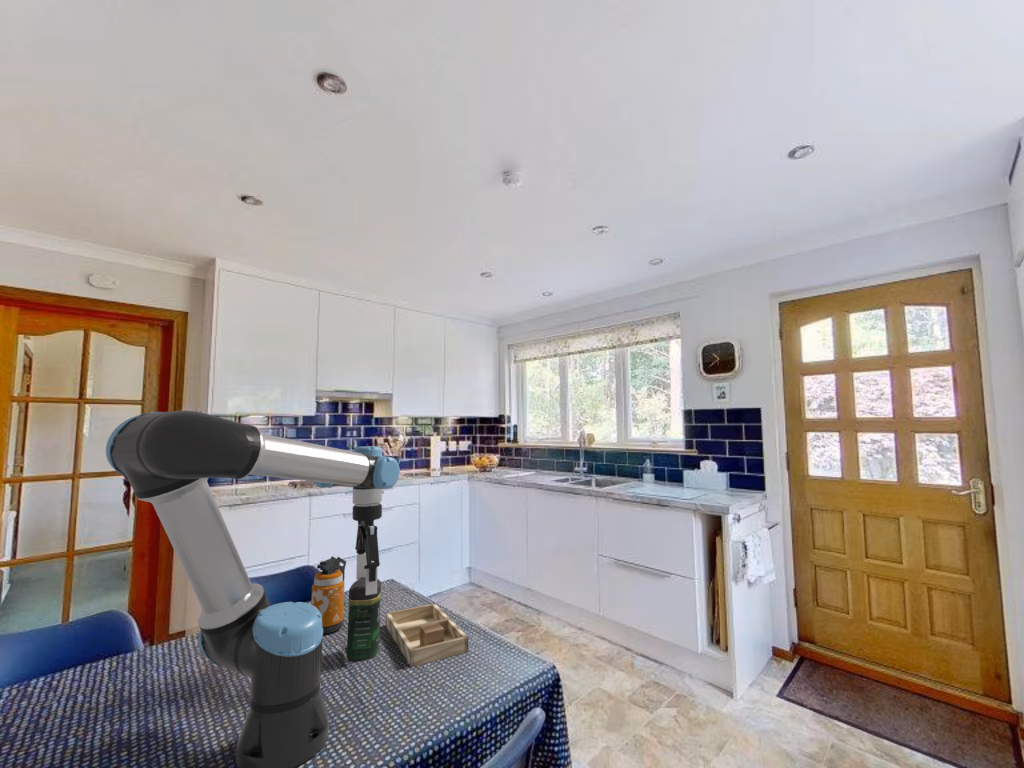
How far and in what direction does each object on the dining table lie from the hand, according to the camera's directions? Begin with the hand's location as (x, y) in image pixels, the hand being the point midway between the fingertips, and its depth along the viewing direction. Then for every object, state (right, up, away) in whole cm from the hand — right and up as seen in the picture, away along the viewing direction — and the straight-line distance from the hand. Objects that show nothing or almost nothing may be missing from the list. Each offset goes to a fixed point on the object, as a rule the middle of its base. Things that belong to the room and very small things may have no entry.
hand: (366, 586), depth 117 cm
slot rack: (+14, -17, +5) cm, 23 cm away
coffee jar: (0, -17, -2) cm, 17 cm away
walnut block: (+17, -16, -1) cm, 24 cm away
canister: (-16, -19, +14) cm, 28 cm away
